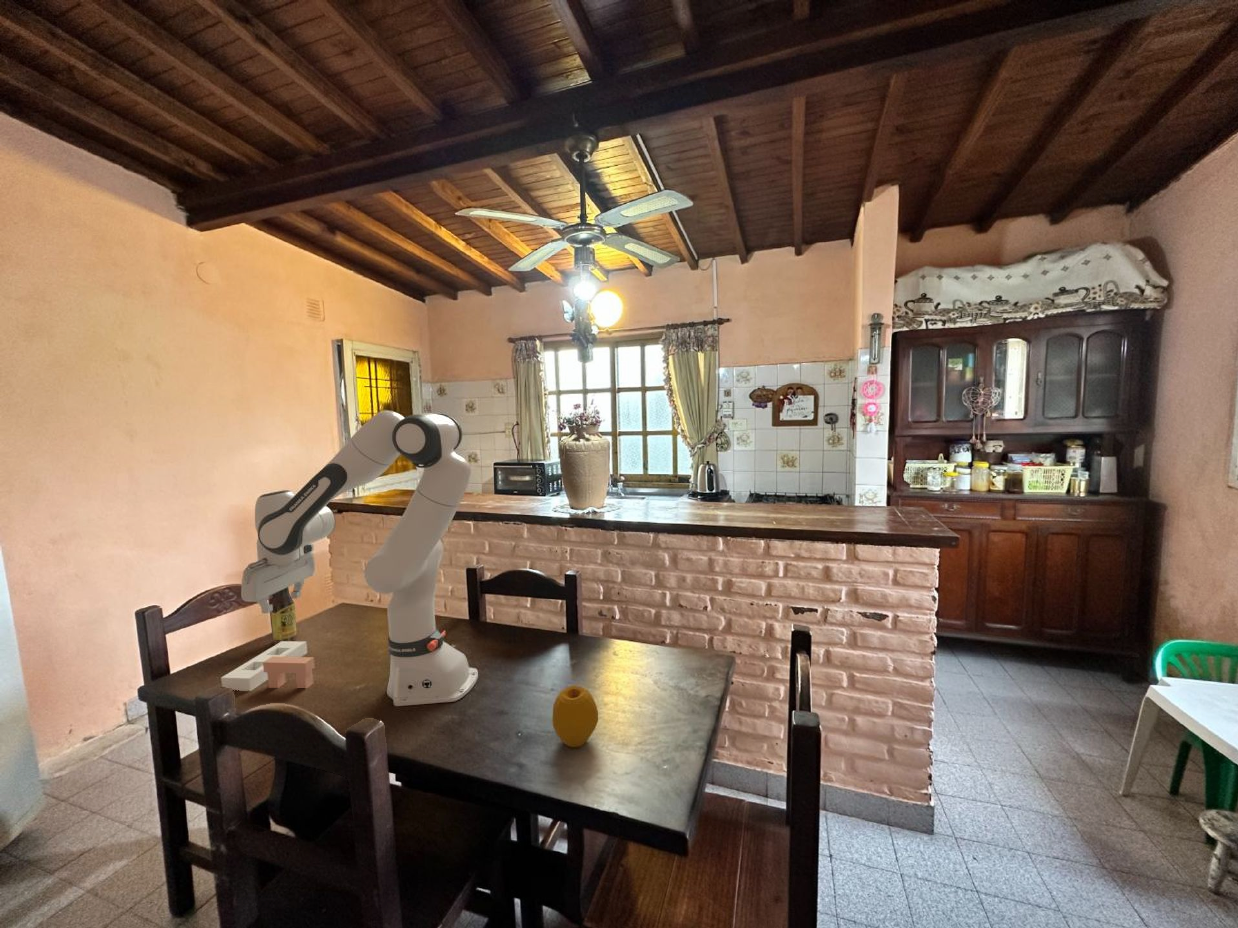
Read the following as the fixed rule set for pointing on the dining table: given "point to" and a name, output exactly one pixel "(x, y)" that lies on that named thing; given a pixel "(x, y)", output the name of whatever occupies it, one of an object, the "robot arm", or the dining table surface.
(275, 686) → the prong clip
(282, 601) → the sauce bottle
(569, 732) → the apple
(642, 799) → the dining table surface
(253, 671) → the slot rail
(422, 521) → the robot arm
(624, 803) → the dining table surface
